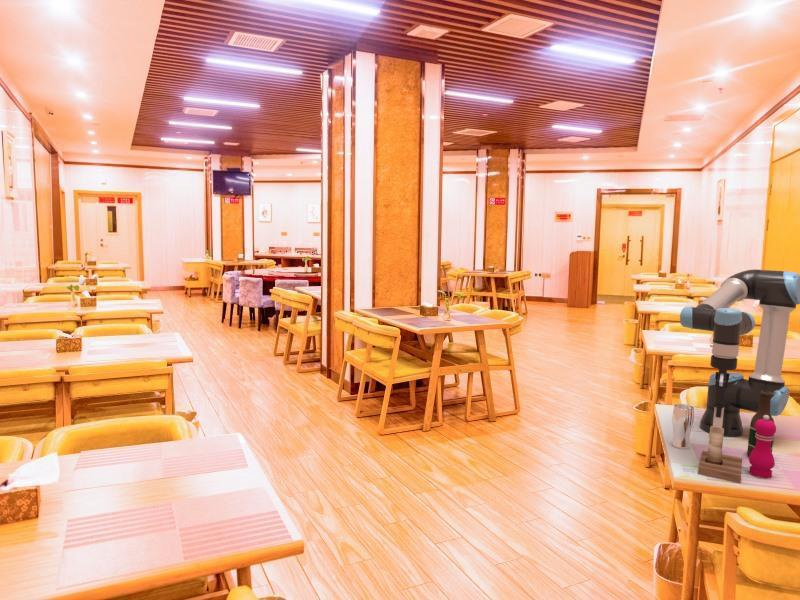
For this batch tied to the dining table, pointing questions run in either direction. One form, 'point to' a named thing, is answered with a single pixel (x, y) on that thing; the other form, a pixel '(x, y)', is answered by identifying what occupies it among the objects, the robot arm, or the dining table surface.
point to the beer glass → (682, 425)
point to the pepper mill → (763, 449)
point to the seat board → (721, 467)
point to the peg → (715, 445)
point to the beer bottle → (762, 410)
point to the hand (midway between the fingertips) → (717, 425)
